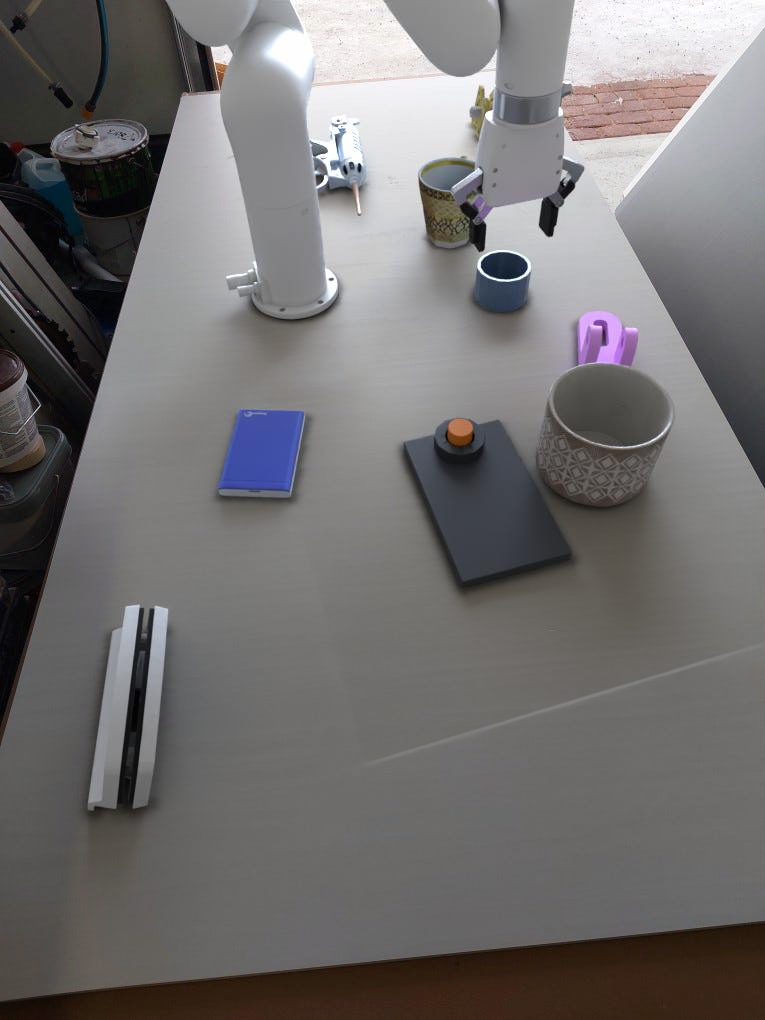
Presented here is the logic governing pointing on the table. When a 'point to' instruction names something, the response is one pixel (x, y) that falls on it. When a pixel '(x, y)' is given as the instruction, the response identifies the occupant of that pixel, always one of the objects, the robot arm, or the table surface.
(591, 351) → the bracket
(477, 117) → the ball valve
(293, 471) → the hard drive
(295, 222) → the robot arm
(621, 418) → the planter
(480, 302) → the blue cup
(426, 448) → the scale
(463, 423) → the button
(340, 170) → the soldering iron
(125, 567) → the table surface
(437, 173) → the ceramic cup
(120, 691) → the white slotted block
